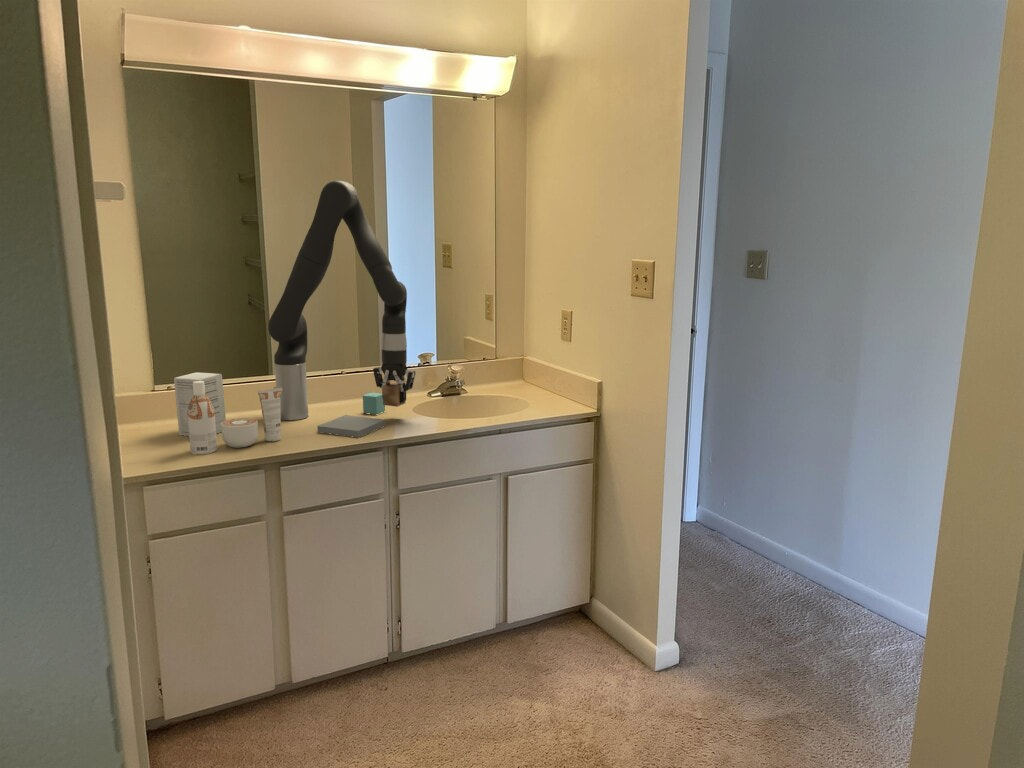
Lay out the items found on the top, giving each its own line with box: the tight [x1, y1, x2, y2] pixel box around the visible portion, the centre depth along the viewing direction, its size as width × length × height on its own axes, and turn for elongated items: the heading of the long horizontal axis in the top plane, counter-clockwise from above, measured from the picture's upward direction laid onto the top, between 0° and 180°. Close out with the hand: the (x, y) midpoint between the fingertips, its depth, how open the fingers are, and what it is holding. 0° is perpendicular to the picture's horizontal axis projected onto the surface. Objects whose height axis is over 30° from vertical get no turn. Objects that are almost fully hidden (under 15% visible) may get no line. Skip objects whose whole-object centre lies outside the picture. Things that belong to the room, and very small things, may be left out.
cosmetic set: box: [187, 381, 282, 455], centre depth 199 cm, size 25×9×19 cm, turn 127°
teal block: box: [362, 392, 386, 415], centre depth 237 cm, size 5×5×6 cm
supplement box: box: [173, 372, 227, 437], centre depth 211 cm, size 10×9×17 cm
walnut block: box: [383, 382, 407, 407], centre depth 228 cm, size 5×5×6 cm
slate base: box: [316, 414, 386, 438], centre depth 217 cm, size 14×14×2 cm
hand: (394, 401), depth 228 cm, fingers closed on walnut block, 5 cm apart
